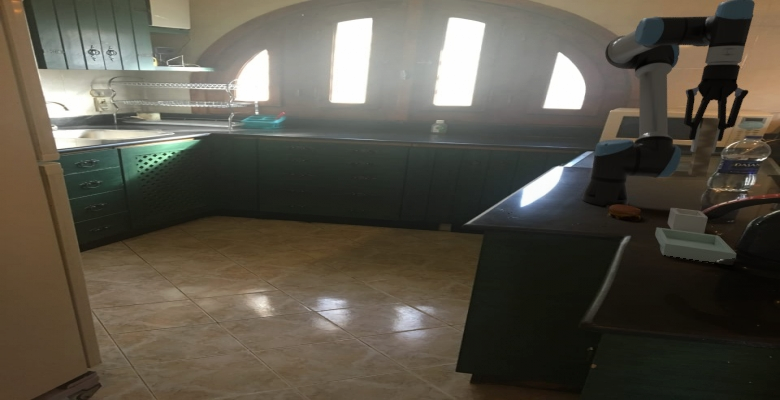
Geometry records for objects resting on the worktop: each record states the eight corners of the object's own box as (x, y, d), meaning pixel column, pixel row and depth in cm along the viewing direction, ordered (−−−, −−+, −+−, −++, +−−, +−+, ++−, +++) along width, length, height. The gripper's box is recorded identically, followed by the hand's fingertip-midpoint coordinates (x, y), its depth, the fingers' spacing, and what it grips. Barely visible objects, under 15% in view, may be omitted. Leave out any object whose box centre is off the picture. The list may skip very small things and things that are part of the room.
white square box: (671, 233, 116) (675, 213, 114) (666, 226, 122) (670, 207, 121) (702, 237, 113) (707, 217, 111) (696, 230, 119) (700, 211, 118)
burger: (603, 214, 134) (606, 200, 133) (634, 217, 132) (637, 203, 131) (610, 222, 125) (613, 208, 124) (644, 226, 123) (647, 211, 121)
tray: (663, 255, 99) (665, 243, 98) (654, 238, 112) (656, 227, 111) (733, 266, 94) (736, 253, 93) (715, 247, 106) (718, 235, 105)
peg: (690, 175, 112) (703, 118, 108) (688, 173, 115) (700, 117, 111) (706, 176, 111) (719, 118, 107) (702, 174, 114) (716, 118, 110)
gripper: (687, 63, 105) (669, 151, 112) (768, 63, 99) (744, 156, 105) (681, 65, 112) (664, 148, 118) (756, 65, 105) (734, 152, 111)
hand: (702, 151), depth 111 cm, fingers closed on peg, 3 cm apart
